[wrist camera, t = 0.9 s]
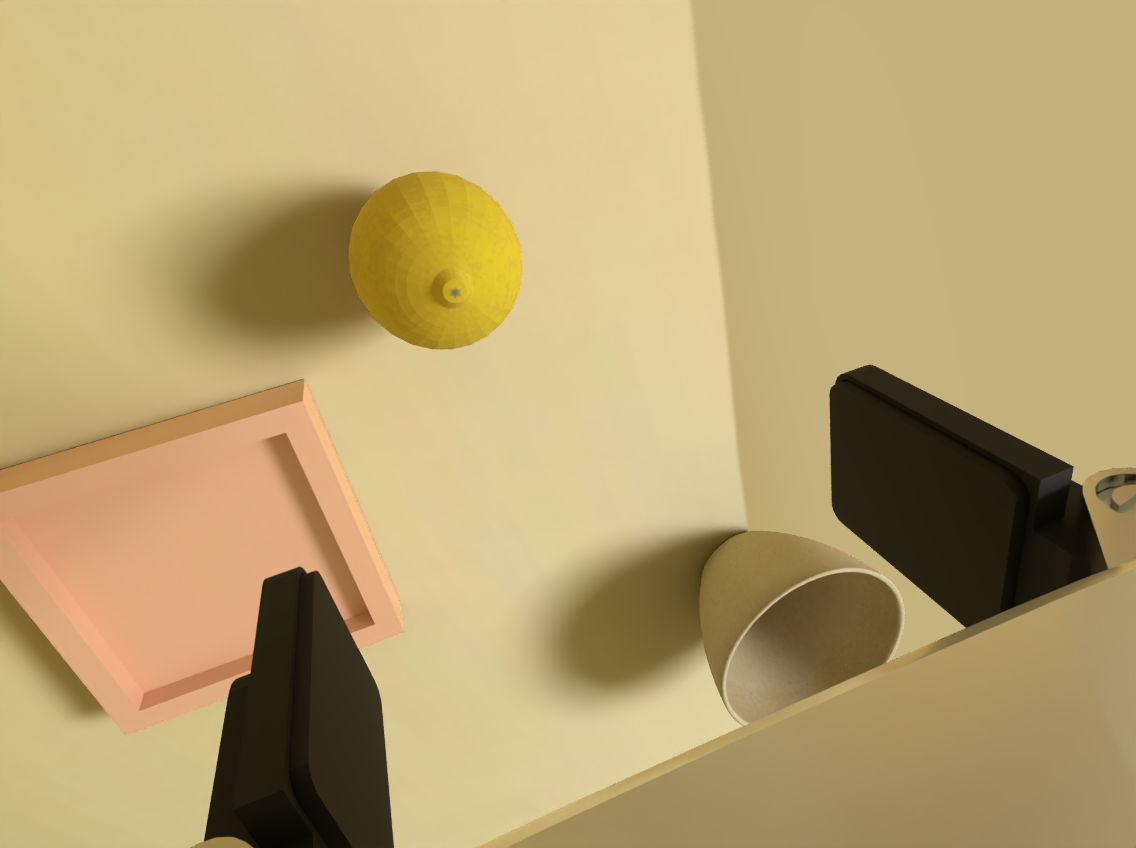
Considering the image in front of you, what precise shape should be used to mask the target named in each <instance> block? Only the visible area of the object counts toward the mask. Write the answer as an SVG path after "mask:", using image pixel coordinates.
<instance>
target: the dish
mask: <svg viewBox="0 0 1136 848" xmlns="http://www.w3.org/2000/svg"><path fill="white" fill-rule="evenodd" d="M299 566H300V567H303V569H304V570H305V571H306V572H307V573H310V572H312V571H315V570H316V571H318V572H319V573H320V575H321V576H322V578H323V580H324V582H325V584H326V586H327V588H328V590H329V592H330V594H331V596H332V598H333V600H334V602H335V604H336V606H337V608H338V610H339V612H340V614H341V615H342V617H343V619H344V621H345V623H346V625H347V627H348V629H349V631H350V633H351V635H352V637H353V639H354V641H355V643H356V645H357V647H358V649H360V648H363V647H366V646H368V645H371V644H374V643H376V642H379V641H382V640H384V639H387V638H390V637H392V636H395V635H398V634H400V633H403V632H404V627H403V620H402V612H401V605H400V600H399V598H398V595H397V593H396V591H395V588H394V586H393V584H392V581H391V579H390V577H389V574H388V572H387V570H386V567H385V565H384V563H383V560H382V558H381V556H380V553H379V551H378V549H377V546H376V544H375V542H374V539H373V537H372V535H371V532H370V530H369V528H368V525H367V523H366V521H365V518H364V516H363V514H362V511H361V509H360V507H359V504H358V502H357V500H356V497H355V495H354V493H353V491H352V488H351V486H350V484H349V481H348V479H347V477H346V474H345V472H344V470H343V467H342V465H341V463H340V460H339V458H338V456H337V453H336V451H335V449H334V446H333V444H332V442H331V439H330V437H329V435H328V432H327V430H326V428H325V425H324V423H323V421H322V418H321V416H320V414H319V411H318V409H317V407H316V404H315V402H314V400H313V397H312V395H311V393H310V390H309V388H308V386H307V383H306V381H305V379H303V380H300V381H296V382H293V383H289V384H286V385H283V386H279V387H276V388H273V389H269V390H266V391H263V392H259V393H256V394H253V395H249V396H246V397H243V398H239V399H236V400H233V401H229V402H226V403H223V404H219V405H216V406H213V407H209V408H206V409H203V410H199V411H196V412H193V413H189V414H186V415H182V416H179V417H176V418H172V419H169V420H166V421H162V422H159V423H156V424H152V425H149V426H146V427H142V428H139V429H136V430H132V431H129V432H126V433H122V434H119V435H116V436H112V437H109V438H106V439H102V440H99V441H96V442H92V443H89V444H86V445H82V446H79V447H75V448H72V449H69V450H65V451H62V452H59V453H55V454H52V455H49V456H45V457H42V458H39V459H35V460H32V461H29V462H25V463H22V464H19V465H15V466H12V467H9V468H5V469H2V470H0V580H1V581H2V583H3V584H4V585H5V586H6V588H7V589H8V590H9V591H10V592H11V594H12V595H13V596H14V597H15V599H16V600H17V601H18V602H19V604H20V605H21V606H22V607H23V609H24V610H25V611H26V612H27V614H28V615H29V616H30V617H31V619H32V620H33V621H34V622H35V624H36V625H37V626H38V627H39V629H40V630H41V631H42V632H43V634H44V635H45V636H46V637H47V639H48V640H49V641H50V642H51V644H52V645H53V646H54V647H55V649H56V650H57V651H58V652H59V653H60V655H61V656H62V657H63V658H64V660H65V661H66V662H67V663H68V665H69V666H70V667H71V668H72V670H73V671H74V672H75V673H76V675H77V676H78V677H79V678H80V680H81V681H82V682H83V683H84V685H85V686H86V687H87V688H88V690H89V691H90V692H91V693H92V695H93V696H94V697H95V698H96V700H97V701H98V702H99V703H100V705H101V706H102V707H103V708H104V709H105V711H106V712H107V713H108V714H109V716H110V717H111V718H112V719H113V721H114V722H115V723H116V724H117V726H118V727H119V728H120V729H121V731H122V732H123V733H124V734H125V736H127V735H129V734H132V733H135V732H137V731H140V730H143V729H146V728H148V727H151V726H154V725H156V724H159V723H162V722H164V721H167V720H170V719H172V718H175V717H178V716H180V715H183V714H186V713H188V712H191V711H194V710H197V709H199V708H202V707H205V706H207V705H210V704H213V703H215V702H218V701H221V700H223V699H226V698H228V694H229V690H230V687H231V684H232V683H233V681H234V680H235V679H237V678H239V677H242V676H245V675H247V674H250V672H251V665H252V658H253V650H254V643H255V635H256V628H257V621H258V613H259V606H260V598H261V591H262V584H263V581H264V580H265V579H266V578H268V577H271V576H274V575H277V574H280V573H283V572H285V571H288V570H291V569H294V568H297V567H299Z"/></svg>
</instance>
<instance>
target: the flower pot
mask: <svg viewBox="0 0 1136 848" xmlns="http://www.w3.org/2000/svg"><path fill="white" fill-rule="evenodd" d="M699 611H700V624H701V632H702V638H703V644H704V648H705V652H706V656H707V660H708V663H709V667H710V670H711V673H712V675H713V678H714V681H715V684H716V686H717V689H718V691H719V693H720V696H721V698H722V700H723V702H724V704H725V706H726V708H727V710H728V712H729V713H730V715H731V716H732V717H733V718H734V719H735V720H736V721H737V722H738V723H740V724H741V725H743V726H745V725H747V724H749V723H752V722H754V721H756V720H758V719H761V718H763V717H765V716H767V715H770V714H772V713H774V712H776V711H779V710H781V709H783V708H785V707H788V706H790V705H792V704H794V703H797V702H799V701H801V700H804V699H806V698H808V697H810V696H813V695H815V694H817V693H819V692H822V691H824V690H826V689H828V688H831V687H833V686H835V685H837V684H840V683H842V682H844V681H846V680H849V679H851V678H853V677H856V676H858V675H860V674H862V673H865V672H867V671H869V670H871V669H874V668H876V667H878V666H880V665H883V664H885V663H887V662H890V661H891V659H892V657H893V655H894V653H895V651H896V649H897V646H898V644H899V641H900V639H901V636H902V632H903V627H904V619H905V614H904V605H903V600H902V597H901V595H900V592H899V591H898V589H897V588H896V586H895V585H894V584H893V583H892V582H891V581H890V580H889V579H888V578H886V577H885V576H883V575H882V574H881V573H879V572H878V571H876V570H875V569H873V568H872V567H870V566H868V565H867V564H865V563H863V562H862V561H860V560H858V559H856V558H854V557H852V556H850V555H848V554H846V553H844V552H842V551H840V550H838V549H836V548H833V547H831V546H828V545H826V544H823V543H820V542H817V541H814V540H811V539H807V538H804V537H799V536H795V535H791V534H785V533H778V532H768V531H750V532H744V533H741V534H738V535H735V536H733V537H731V538H730V539H728V540H726V541H725V542H724V543H722V544H721V545H720V546H719V547H718V548H717V549H716V550H715V551H714V552H713V553H712V554H711V556H710V557H709V559H708V560H707V562H706V564H705V566H704V569H703V572H702V577H701V584H700V597H699Z"/></svg>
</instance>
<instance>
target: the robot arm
mask: <svg viewBox="0 0 1136 848" xmlns="http://www.w3.org/2000/svg"><path fill="white" fill-rule="evenodd" d="M830 438H831V488H832V489H831V490H832V507H833V510H834V512H835V515H836V516H837V518H838V519H839V520H840V521H841V522H842V523H843V524H844V525H845V526H846V527H847V528H849V529H850V530H851V531H852V532H853V533H854V534H856V535H857V536H858V537H859V538H860V539H862V540H863V541H864V542H865V543H866V544H867V545H869V546H870V547H871V548H872V549H873V550H875V551H876V552H877V553H878V554H879V555H881V556H882V557H883V558H884V559H885V560H886V561H888V562H889V563H890V564H891V565H892V566H894V567H895V568H896V569H897V570H898V571H900V572H901V573H902V574H903V575H904V576H905V577H907V578H908V579H909V580H910V581H911V582H913V583H914V584H915V585H916V586H917V587H919V588H920V589H921V590H922V591H923V592H924V593H926V594H927V595H928V596H929V597H930V598H931V599H933V600H934V601H935V602H936V603H937V604H939V605H940V606H941V607H942V608H943V609H944V610H946V611H947V612H948V613H949V614H950V615H952V616H953V617H954V618H955V619H956V620H957V621H959V622H960V623H961V624H962V625H964V626H965V627H966V628H965V629H963V630H961V631H958V632H956V633H954V634H952V635H950V636H947V637H945V638H942V639H940V640H938V641H935V642H933V643H931V644H929V645H926V646H924V647H922V648H919V649H917V650H915V651H912V652H910V653H908V654H906V655H903V656H901V657H899V658H896V659H894V660H892V661H890V662H887V663H885V664H883V665H880V666H878V667H876V668H874V669H871V670H869V671H867V672H865V673H862V674H860V675H858V676H856V677H853V678H851V679H849V680H846V681H844V682H842V683H840V684H837V685H835V686H833V687H831V688H828V689H826V690H824V691H822V692H819V693H817V694H815V695H813V696H810V697H808V698H806V699H804V700H801V701H799V702H797V703H794V704H792V705H790V706H788V707H785V708H783V709H781V710H779V711H776V712H774V713H772V714H770V715H767V716H765V717H763V718H761V719H758V720H756V721H754V722H752V723H749V724H747V725H745V726H743V727H740V728H738V729H736V730H734V731H731V732H729V733H727V734H725V735H722V736H720V737H718V738H716V739H713V740H711V741H709V742H707V743H705V744H702V745H700V746H698V747H696V748H693V749H691V750H689V751H687V752H685V753H682V754H680V755H678V756H676V757H673V758H671V759H669V760H667V761H665V762H662V763H660V764H658V765H656V766H653V767H651V768H649V769H647V770H645V771H642V772H640V773H638V774H636V775H633V776H631V777H629V778H627V779H625V780H622V781H620V782H618V783H616V784H613V785H611V786H609V787H607V788H605V789H602V790H600V791H598V792H596V793H593V794H591V795H589V796H587V797H585V798H582V799H580V800H578V801H576V802H573V803H571V804H569V805H567V806H565V807H562V808H560V809H558V810H556V811H554V812H552V813H549V814H547V815H545V816H543V817H541V818H539V819H537V820H535V821H532V822H530V823H528V824H526V825H524V826H522V827H520V828H517V829H515V830H513V831H511V832H509V833H507V834H505V835H503V836H500V837H498V838H496V839H494V840H492V841H490V842H488V843H486V844H483V845H481V846H479V847H477V848H1136V468H1112V469H1108V470H1103V471H1099V472H1097V473H1095V474H1093V475H1091V476H1089V477H1088V478H1087V479H1086V481H1085V482H1084V483H1083V485H1080V484H1078V483H1076V482H1074V481H1072V480H1071V478H1072V473H1073V468H1074V467H1073V466H1071V465H1069V464H1067V463H1065V462H1063V461H1061V460H1060V459H1058V458H1056V457H1053V456H1052V455H1049V454H1048V453H1046V452H1044V451H1042V450H1040V449H1038V448H1036V447H1034V446H1032V445H1030V444H1028V443H1026V442H1024V441H1022V440H1020V439H1018V438H1016V437H1014V436H1012V435H1010V434H1008V433H1006V432H1004V431H1002V430H1000V429H998V428H996V427H994V426H992V425H990V424H988V423H986V422H984V421H982V420H980V419H979V418H977V417H974V416H973V415H970V414H969V413H967V412H965V411H963V410H961V409H959V408H957V407H955V406H953V405H951V404H949V403H947V402H945V401H943V400H941V399H939V398H937V397H935V396H933V395H931V394H929V393H927V392H925V391H923V390H921V389H919V388H917V387H915V386H913V385H911V384H909V383H907V382H905V381H903V380H901V379H899V378H897V377H895V376H893V375H892V374H889V373H888V372H886V371H884V370H882V369H880V368H878V367H876V366H873V365H867V366H863V367H860V368H857V369H855V370H852V371H849V372H846V373H844V374H841V375H840V376H838V377H837V380H836V383H835V385H834V386H833V387H831V390H830ZM191 848H394V843H393V832H392V820H391V808H390V797H389V785H388V773H387V761H386V750H385V738H384V726H383V714H382V704H381V698H380V694H379V690H378V688H377V685H376V683H375V680H374V678H373V676H372V674H371V672H370V670H369V669H368V667H367V665H366V663H365V661H364V659H363V657H362V655H361V653H360V651H359V649H358V647H357V645H356V643H355V641H354V639H353V637H352V635H351V633H350V631H349V629H348V627H347V625H346V623H345V621H344V619H343V617H342V615H341V614H340V612H339V610H338V608H337V606H336V604H335V602H334V600H333V598H332V596H331V594H330V592H329V590H328V588H327V586H326V584H325V582H324V580H323V578H322V576H321V575H320V573H319V572H318V571H316V570H315V571H312V572H310V573H307V572H306V571H305V570H304V569H303V567H300V566H299V567H297V568H294V569H291V570H288V571H285V572H283V573H280V574H277V575H274V576H271V577H268V578H266V579H265V580H264V581H263V584H262V591H261V598H260V606H259V613H258V621H257V628H256V635H255V643H254V650H253V658H252V665H251V672H250V674H247V675H245V676H242V677H239V678H237V679H235V680H234V681H233V683H232V684H231V687H230V690H229V694H228V700H227V706H226V712H225V718H224V724H223V730H222V736H221V742H220V748H219V754H218V760H217V766H216V772H215V778H214V784H213V790H212V796H211V802H210V808H209V814H208V820H207V826H206V832H205V838H204V842H201V843H198V844H196V845H195V846H193V847H191Z"/></svg>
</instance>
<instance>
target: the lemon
mask: <svg viewBox="0 0 1136 848" xmlns="http://www.w3.org/2000/svg"><path fill="white" fill-rule="evenodd" d="M348 255H349V266H350V275H351V278H352V280H353V283H354V286H355V289H356V291H357V294H358V297H359V299H360V300H361V301H362V303H363V304H364V306H365V307H366V309H367V310H368V311H369V313H370V314H371V316H372V317H373V318H374V319H375V320H376V321H377V322H378V323H379V324H381V325H382V326H383V327H384V328H385V329H386V330H387V331H389V332H390V333H391V334H393V335H395V336H397V337H398V338H400V339H402V340H404V341H406V342H408V343H410V344H413V345H417V346H421V347H425V348H430V349H455V348H459V347H463V346H467V345H471V344H473V343H475V342H476V341H478V340H480V339H482V338H484V337H486V336H488V335H489V334H490V333H491V332H492V331H493V330H495V329H496V328H497V327H498V326H499V325H500V324H501V323H502V322H503V321H504V319H505V318H506V316H507V315H508V314H509V312H510V311H511V309H512V308H513V305H514V302H515V300H516V297H517V295H518V292H519V289H520V283H521V275H522V260H521V251H520V244H519V241H518V239H517V236H516V233H515V231H514V228H513V225H512V223H511V221H510V220H509V218H508V217H507V215H506V214H505V212H504V211H503V210H502V208H501V207H500V205H499V204H498V203H497V202H496V201H495V200H494V199H493V198H492V197H491V196H490V195H488V194H487V193H486V192H485V191H484V190H483V189H482V188H481V187H479V186H477V185H475V184H473V183H471V182H469V181H467V180H465V179H463V178H461V177H459V176H455V175H451V174H446V173H441V172H417V173H411V174H408V175H405V176H402V177H399V178H396V179H393V180H392V181H390V182H389V183H387V184H386V185H384V186H383V187H381V188H380V189H378V190H377V191H375V193H374V194H373V195H372V196H371V197H370V198H369V200H368V201H367V202H366V203H365V204H364V205H363V207H362V208H361V210H360V212H359V214H358V216H357V218H356V221H355V223H354V225H353V227H352V230H351V236H350V243H349V249H348Z"/></svg>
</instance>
